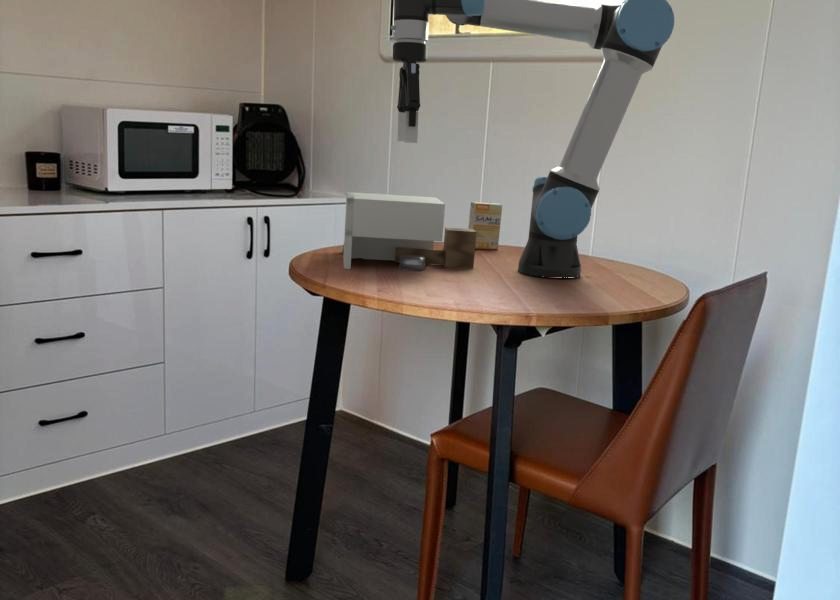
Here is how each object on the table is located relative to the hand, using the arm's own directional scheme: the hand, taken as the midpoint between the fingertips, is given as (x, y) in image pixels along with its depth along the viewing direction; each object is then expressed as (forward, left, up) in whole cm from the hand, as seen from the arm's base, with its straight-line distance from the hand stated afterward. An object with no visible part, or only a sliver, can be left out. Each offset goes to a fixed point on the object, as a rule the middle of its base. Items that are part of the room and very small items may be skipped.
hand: (406, 142), depth 178 cm
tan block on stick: (-9, -11, -29) cm, 32 cm away
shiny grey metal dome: (-3, -4, -29) cm, 30 cm away
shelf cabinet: (+2, -7, -29) cm, 30 cm away
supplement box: (-27, -43, -29) cm, 58 cm away
